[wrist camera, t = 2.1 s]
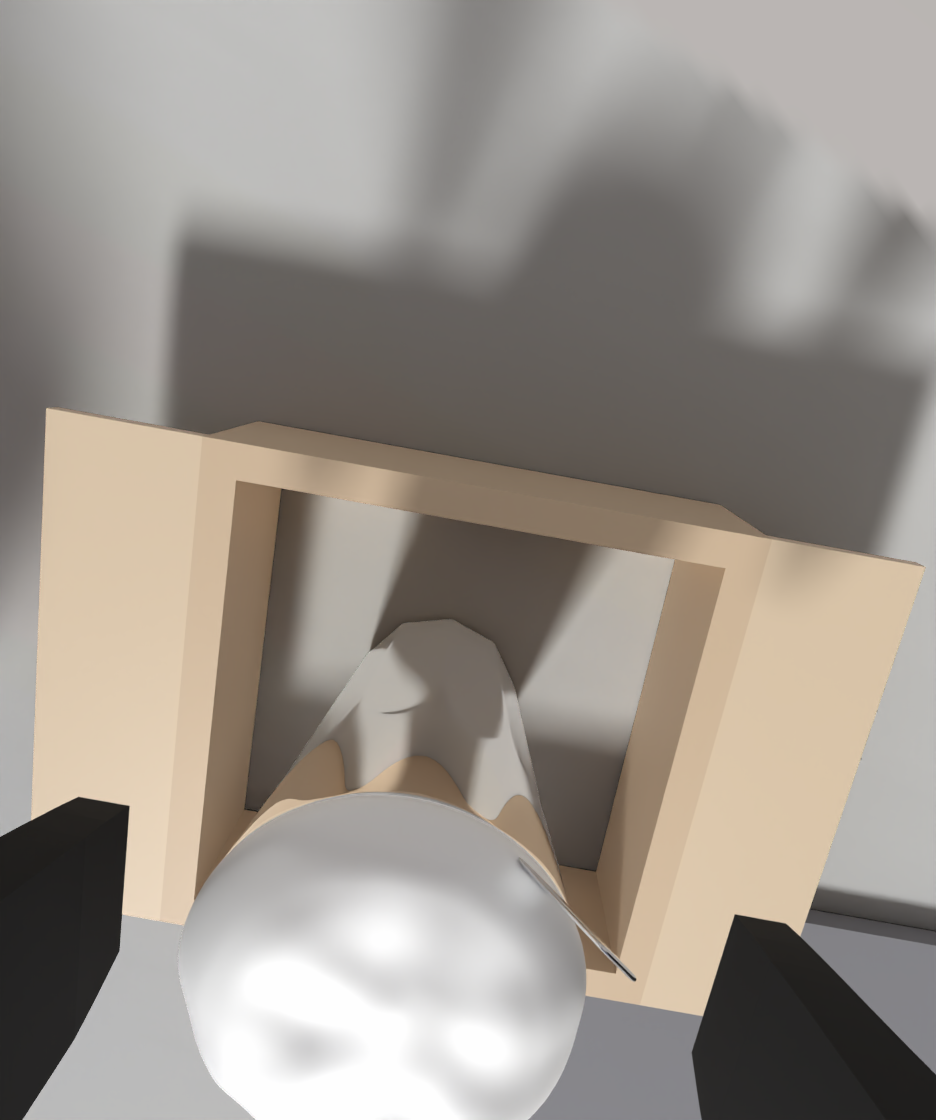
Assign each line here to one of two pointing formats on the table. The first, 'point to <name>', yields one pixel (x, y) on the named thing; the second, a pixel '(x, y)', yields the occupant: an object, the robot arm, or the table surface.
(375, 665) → the milkshake
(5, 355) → the table surface
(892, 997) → the mat
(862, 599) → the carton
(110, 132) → the table surface
